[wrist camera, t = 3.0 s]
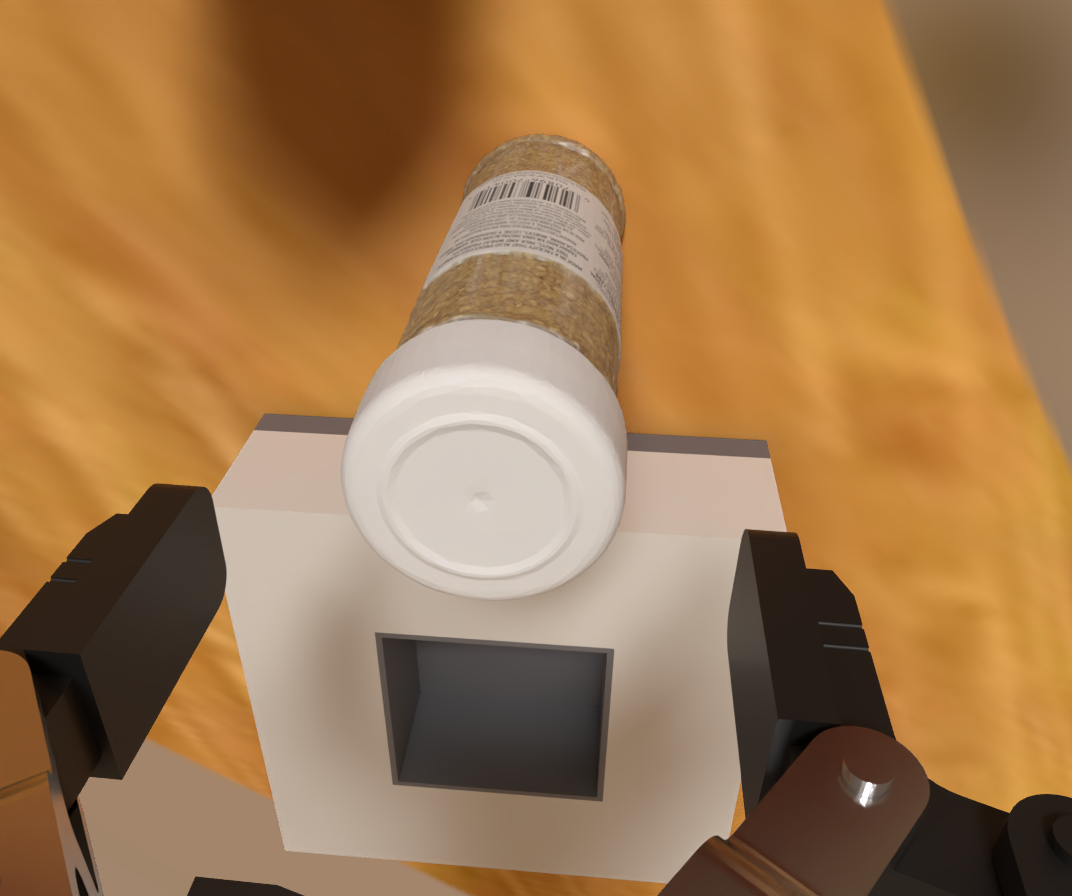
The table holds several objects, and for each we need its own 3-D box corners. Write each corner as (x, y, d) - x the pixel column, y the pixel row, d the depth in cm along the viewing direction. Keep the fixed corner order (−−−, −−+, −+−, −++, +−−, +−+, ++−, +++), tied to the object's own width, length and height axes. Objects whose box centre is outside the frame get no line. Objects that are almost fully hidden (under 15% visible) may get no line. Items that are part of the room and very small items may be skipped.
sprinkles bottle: (447, 263, 27) (313, 570, 15) (485, 104, 24) (359, 335, 13) (599, 308, 27) (576, 641, 16) (652, 157, 24) (670, 425, 13)
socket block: (264, 413, 30) (205, 506, 26) (766, 440, 29) (789, 541, 25) (322, 741, 39) (285, 850, 35) (709, 772, 38) (718, 887, 34)
